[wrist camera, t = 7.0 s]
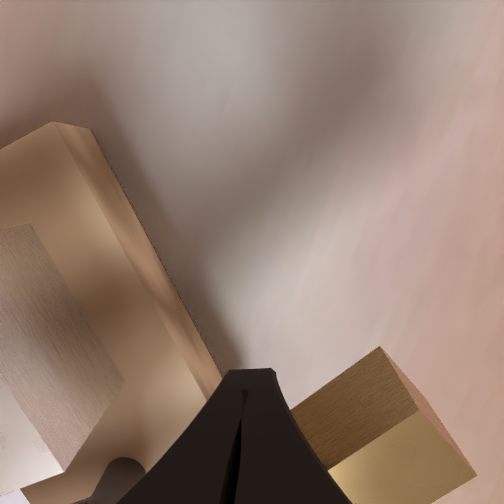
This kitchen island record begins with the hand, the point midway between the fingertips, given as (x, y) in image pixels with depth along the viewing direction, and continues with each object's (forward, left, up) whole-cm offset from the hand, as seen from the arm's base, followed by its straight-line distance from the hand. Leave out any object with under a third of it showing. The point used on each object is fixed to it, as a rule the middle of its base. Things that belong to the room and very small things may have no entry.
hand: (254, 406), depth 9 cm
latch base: (+2, +10, -10) cm, 14 cm away
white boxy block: (+3, +10, -7) cm, 12 cm away
